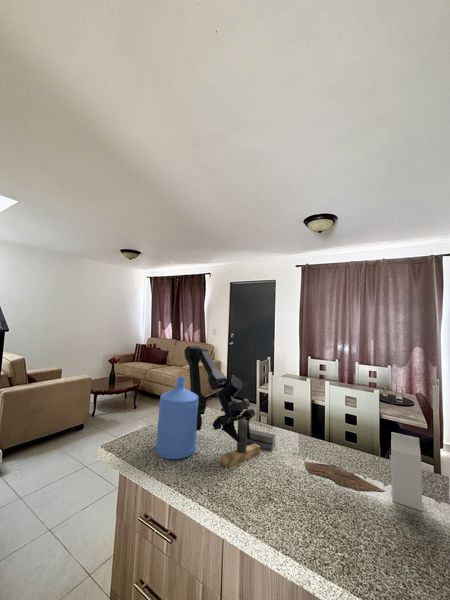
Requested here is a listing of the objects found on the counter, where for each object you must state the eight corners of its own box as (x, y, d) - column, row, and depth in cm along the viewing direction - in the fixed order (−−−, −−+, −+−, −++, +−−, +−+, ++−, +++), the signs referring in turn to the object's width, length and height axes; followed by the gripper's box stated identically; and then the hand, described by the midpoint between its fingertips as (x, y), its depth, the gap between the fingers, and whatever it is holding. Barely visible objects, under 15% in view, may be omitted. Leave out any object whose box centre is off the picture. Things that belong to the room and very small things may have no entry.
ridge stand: (244, 443, 108) (244, 432, 108) (248, 438, 113) (249, 427, 114) (271, 450, 103) (272, 439, 103) (275, 444, 108) (275, 433, 109)
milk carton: (422, 512, 71) (420, 442, 73) (392, 501, 75) (391, 435, 77) (419, 498, 77) (417, 434, 79) (391, 489, 81) (390, 428, 83)
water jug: (184, 464, 89) (189, 384, 92) (147, 455, 94) (153, 379, 97) (201, 445, 104) (206, 376, 107) (168, 438, 109) (173, 372, 112)
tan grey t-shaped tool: (225, 468, 88) (228, 427, 90) (219, 463, 91) (221, 423, 92) (260, 454, 99) (261, 417, 101) (254, 450, 102) (255, 415, 104)
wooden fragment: (298, 469, 90) (298, 466, 90) (308, 458, 99) (308, 455, 99) (382, 503, 75) (382, 500, 75) (385, 486, 83) (385, 483, 83)
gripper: (219, 394, 95) (236, 436, 85) (253, 389, 107) (272, 425, 97) (206, 410, 100) (221, 450, 91) (240, 403, 112) (257, 438, 102)
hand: (244, 440), depth 95 cm, fingers open, 5 cm apart
